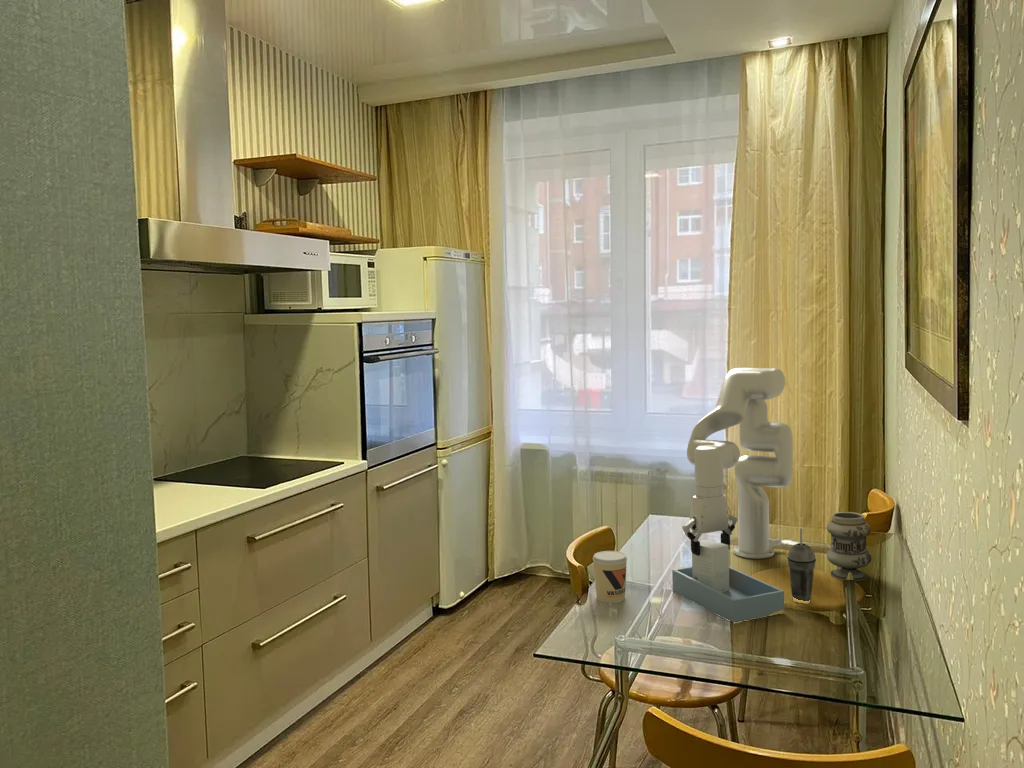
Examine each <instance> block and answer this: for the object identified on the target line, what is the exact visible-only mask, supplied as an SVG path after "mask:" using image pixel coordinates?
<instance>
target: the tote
mask: <svg viewBox="0 0 1024 768" xmlns="http://www.w3.org/2000/svg"><path fill="white" fill-rule="evenodd" d="M671 573H672V580H671V581H672V591H673V592H674V591H675V593H677V594H678V595H680V596H682V597H684V598H685V599H688V600H689V601H691V602H693V603H695V604H696V605H698V606H700V607H702V608H704V609H706V610H708V611H709V612H711V613H713V612H714V613H713V614H715V613H716V614H718V615H720V616H722V617H724V618H726V619H728V620H730V621H732V622H739V621H744V620H750V619H753V618H758V617H759V618H760V617H763V616H767V615H770V614H772V613H774V612H777V611H780V610H782V609H784V610H785V590H784V589H781V588H778V587H776V586H774V585H772V584H769V583H768V582H765V581H763V580H760V579H758V578H756V577H754V576H752V575H749V574H747V573H746V572H743V571H740V570H738V569H737V568H734V567H731V566H729V591H726V592H724V593H721V592H719V591H717V590H715V589H713V588H711V587H709V586H707V585H705V584H703V583H701V582H699V581H697V580H695V579H693V578H692V565H691V566H685V567H680V568H673V569H672V571H671ZM716 614H715V615H716ZM718 615H717V616H718ZM720 616H719V617H720ZM722 617H721V618H722ZM724 618H723V619H724Z"/></svg>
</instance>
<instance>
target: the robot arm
mask: <svg viewBox="0 0 1024 768" xmlns="http://www.w3.org/2000/svg"><path fill="white" fill-rule="evenodd" d="M785 386H786V377H785V375H784V372H783V371H782V370H781V369H780V368H777V367H776V368H773V367H736V368H735V367H734V368H732V369H730V370H728V372H727V373H726V376H725V377H724V379H723V382H722V385H721V389H720V392H719V395H718V399H717V401H716V405H715V408H714V409H713V410H712V411H710V412H709V413H708V414H706V415H704V417H702V418H701V419H700V420H699V421H698V422H696V424H695V425H694V427H693V429H692V431H691V434H690V438H689V440H688V443H687V449H686V458H687V460H688V463H690V464H691V465H694V480H695V481H694V487H695V489H694V490H695V493H694V494H695V495H693V496H692V498H691V503H690V511H689V512H690V513H689V520H688V521H687V522H686V523H684V524H683V525H682V527H681V528H682V530H683V532H684V535H685V536H686V537H687V538H688V539H689V540H690V551H691V554H692V553H693V554H695V555H697V556H699V555H700V542H699V541H700V539H701V536H702V535H704V534H711V533H715V532H721V533H720V543H723V544H727V545H729V550H730V549H731V546H730V545H731V538H730V537H731V536H732V534H733V533H732V532H733V531H734V530H735V529H736V525H737V545H736V546H734V547H733V549H732V551H733V554H734V555H736V556H738V557H742V558H744V559H757V560H759V559H768V558H772V557H773V556H774V555H775V550H774V546H778V545H779V546H780V545H782V540H781V539H780V538H774V539H773V538H771V537H770V500H769V497H768V495H767V493H766V491H765V490H764V487H766V488H779V489H780V488H782V489H783V488H784V489H785V488H788V487H789V486H790V485H791V484H792V480H793V474H794V473H793V470H794V469H793V468H794V467H793V463H794V462H793V457H794V455H793V451H794V447H793V443H794V442H793V441H794V440H793V432H792V429H791V427H790V426H789V425H788V424H787V423H784V422H780V421H779V422H778V421H777V422H776V421H769V419H768V408H769V407H768V404H767V403H766V400H772V399H775V398H777V397H778V396H780V395H781V394H782V393H783V391H784V390H785ZM737 425H739V443H740V447H741V448H742V449H743V450H746V451H749V452H757V453H758V452H759V453H760V452H761V453H773V454H775V456H770V455H769V456H768V455H767V456H766V455H757V454H756V455H755V454H746V455H741V453H740V451H741V450H740V449H739V446H738V444H736V443H735V442H733V441H730V440H729V441H728V440H717V439H714V440H713V439H708V438H709V437H710V436H711V435H713V434H714V433H717V432H721V431H724V430H726V429H729V428H732V427H734V426H737ZM730 468H734V476H735V480H736V481H735V482H736V489H737V517H735V516H733V515H732V514H729V507H728V502H727V497H726V494H725V493H724V492H725V491H724V490H726V489H727V484H726V483H725V484H724V469H726V470H727V469H730Z"/></svg>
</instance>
